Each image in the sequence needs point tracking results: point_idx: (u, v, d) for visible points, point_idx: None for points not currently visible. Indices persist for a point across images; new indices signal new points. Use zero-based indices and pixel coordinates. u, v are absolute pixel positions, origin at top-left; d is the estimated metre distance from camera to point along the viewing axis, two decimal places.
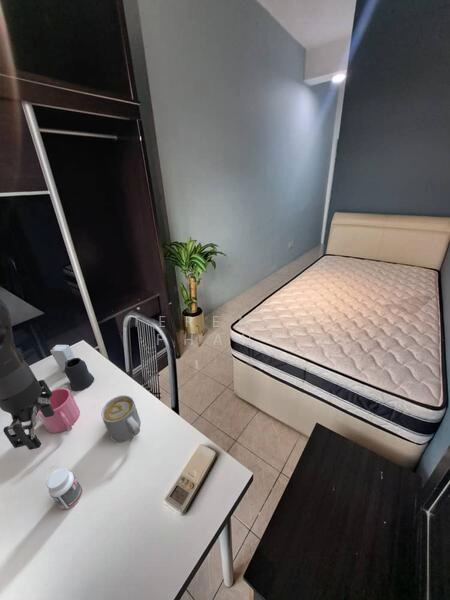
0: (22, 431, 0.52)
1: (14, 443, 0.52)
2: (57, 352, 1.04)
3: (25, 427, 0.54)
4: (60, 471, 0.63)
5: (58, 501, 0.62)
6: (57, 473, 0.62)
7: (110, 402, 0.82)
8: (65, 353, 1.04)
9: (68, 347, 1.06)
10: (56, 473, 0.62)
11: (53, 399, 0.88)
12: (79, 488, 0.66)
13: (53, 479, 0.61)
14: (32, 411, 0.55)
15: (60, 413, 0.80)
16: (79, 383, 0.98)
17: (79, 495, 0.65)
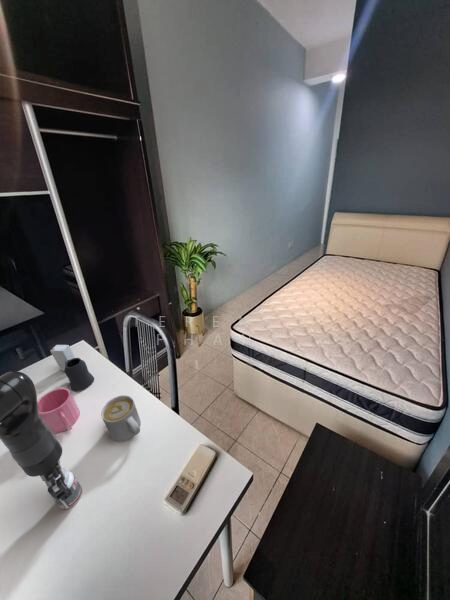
0: (63, 484, 0.57)
1: (57, 497, 0.56)
2: (57, 352, 1.04)
3: None
4: None
5: (58, 501, 0.62)
6: None
7: (110, 402, 0.82)
8: (65, 353, 1.04)
9: (68, 347, 1.06)
10: None
11: (53, 399, 0.88)
12: (79, 488, 0.66)
13: None
14: (59, 467, 0.59)
15: (60, 413, 0.80)
16: (79, 383, 0.98)
17: (79, 495, 0.65)
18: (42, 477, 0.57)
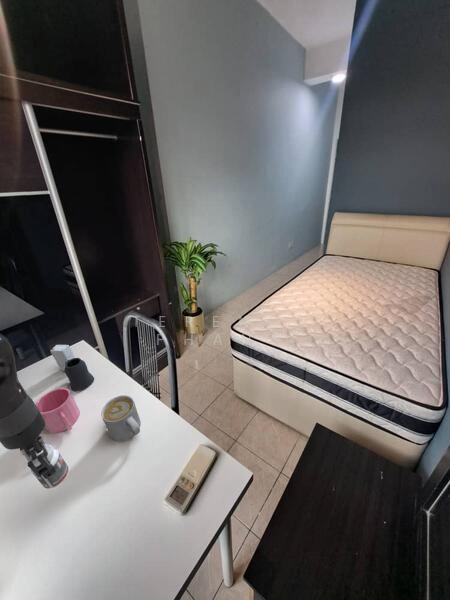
0: (45, 459, 0.52)
1: (38, 473, 0.52)
2: (57, 352, 1.04)
3: None
4: None
5: (41, 479, 0.57)
6: None
7: (110, 402, 0.82)
8: (65, 353, 1.04)
9: (68, 347, 1.06)
10: None
11: (53, 399, 0.88)
12: (65, 467, 0.61)
13: None
14: (42, 441, 0.54)
15: (60, 413, 0.80)
16: (79, 383, 0.98)
17: (65, 474, 0.61)
18: (22, 451, 0.52)
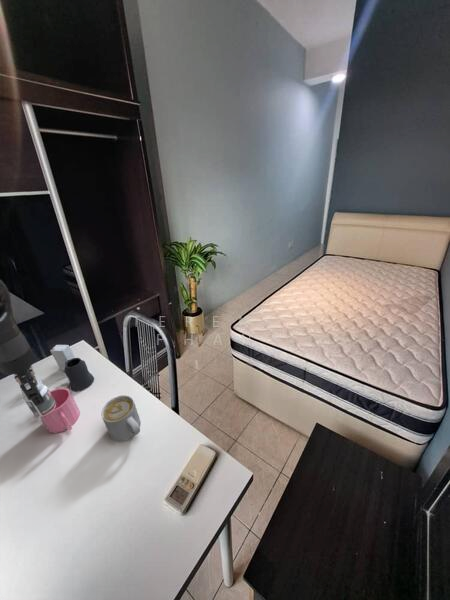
0: (34, 385, 0.64)
1: (29, 396, 0.63)
2: (57, 352, 1.04)
3: None
4: None
5: (32, 407, 0.69)
6: None
7: (110, 402, 0.82)
8: (65, 353, 1.04)
9: (68, 347, 1.06)
10: None
11: None
12: (53, 401, 0.73)
13: None
14: (32, 372, 0.66)
15: (60, 413, 0.80)
16: (79, 383, 0.98)
17: (52, 407, 0.72)
18: (16, 379, 0.64)
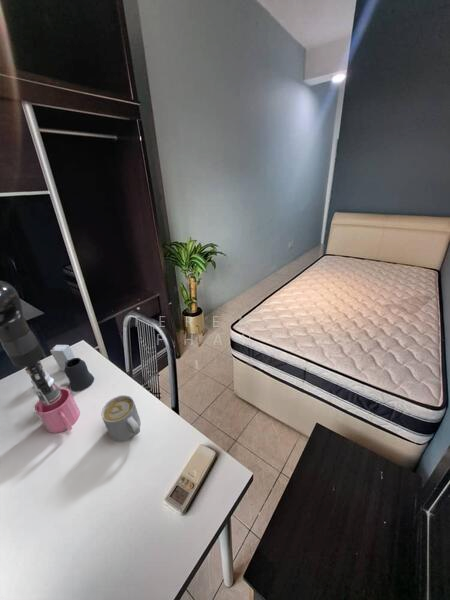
0: (43, 376, 0.73)
1: (38, 386, 0.73)
2: (57, 352, 1.04)
3: None
4: None
5: (41, 396, 0.78)
6: None
7: (110, 402, 0.82)
8: (65, 353, 1.04)
9: (68, 347, 1.06)
10: None
11: None
12: (59, 391, 0.82)
13: None
14: (41, 365, 0.75)
15: (60, 413, 0.80)
16: (79, 383, 0.98)
17: (58, 396, 0.82)
18: (27, 371, 0.73)
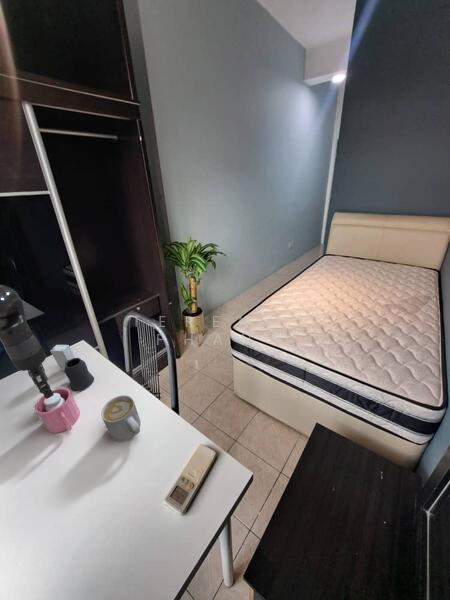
0: (45, 379, 0.73)
1: (40, 389, 0.73)
2: (57, 352, 1.04)
3: None
4: (54, 395, 0.84)
5: None
6: (52, 396, 0.83)
7: (110, 402, 0.82)
8: (65, 353, 1.04)
9: (68, 347, 1.06)
10: None
11: None
12: None
13: (49, 399, 0.82)
14: (43, 369, 0.76)
15: (60, 413, 0.80)
16: (79, 383, 0.98)
17: None
18: (29, 374, 0.74)
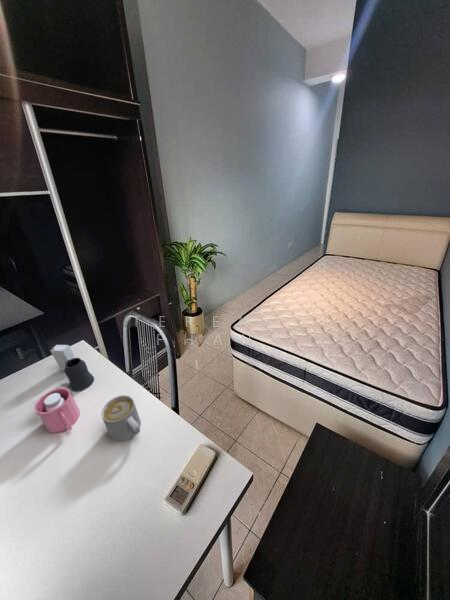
0: None
1: None
2: (57, 352, 1.04)
3: None
4: (54, 395, 0.84)
5: None
6: (52, 396, 0.84)
7: (110, 402, 0.82)
8: (65, 353, 1.04)
9: (68, 347, 1.06)
10: (51, 396, 0.84)
11: None
12: None
13: (49, 399, 0.82)
14: None
15: (60, 413, 0.80)
16: (79, 383, 0.98)
17: None
18: None
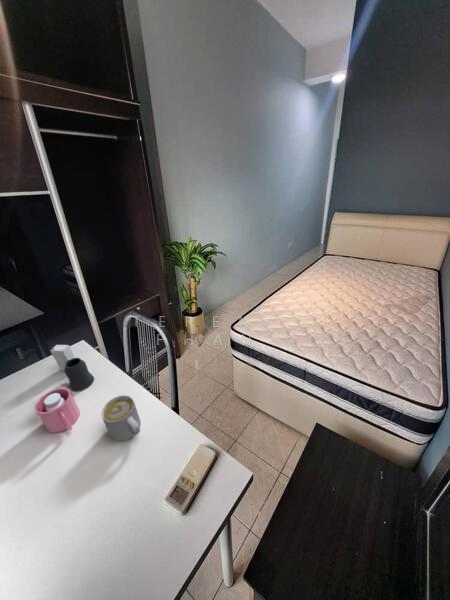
0: None
1: None
2: (57, 352, 1.04)
3: None
4: (54, 395, 0.84)
5: None
6: (52, 396, 0.84)
7: (110, 402, 0.82)
8: (65, 353, 1.04)
9: (68, 347, 1.06)
10: (51, 396, 0.84)
11: None
12: None
13: (49, 399, 0.82)
14: None
15: (60, 413, 0.80)
16: (79, 383, 0.98)
17: None
18: None
